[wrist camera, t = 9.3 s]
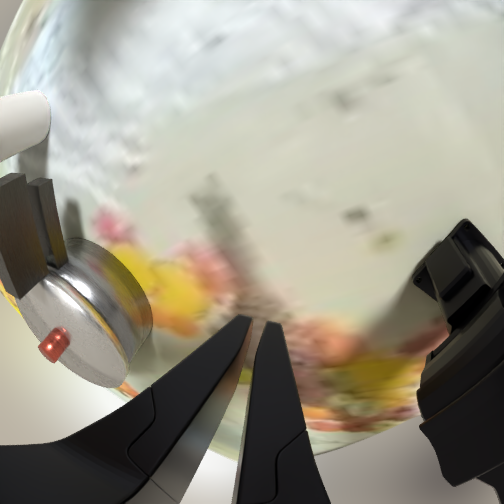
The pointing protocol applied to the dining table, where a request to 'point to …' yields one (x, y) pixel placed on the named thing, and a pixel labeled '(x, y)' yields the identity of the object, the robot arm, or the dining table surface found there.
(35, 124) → the white cup
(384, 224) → the dining table surface
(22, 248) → the lid
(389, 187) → the dining table surface
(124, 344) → the pot
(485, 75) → the dining table surface
